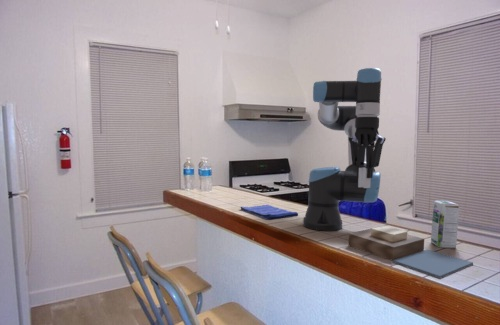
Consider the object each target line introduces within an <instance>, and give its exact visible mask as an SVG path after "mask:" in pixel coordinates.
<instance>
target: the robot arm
mask: <svg viewBox="0 0 500 325" xmlns="http://www.w3.org/2000/svg"><path fill="white" fill-rule="evenodd" d="M381 86H382V71H381V69H380V68H377V67H365V68H361V69H359V70H358V71H357V74H356V80H321V81H315V82H313V87H312V88H313V89H312V100H313V102H315V103H318V104H319V107H318V108H319V109H318V110H317V119H318V121H319V123H320V124H322V125H323V126H324V127H325V128H328V129H329V130H332V131H344V133H345V135H346V136H347V147H348V148H347V150H348V151H347V153H348V154H347V156H348V159H347V160H348V165H347V166H346V168H345V169H344V170H341V168H340V167H339V166H328V167H325V166H324V167H319V168H318V167H317V168H313V169H312V170H310V172H309V176H308V177H309V179H308V183H309V184H308V203H307V205H308V206H307V209H306V211H305V216H304V217H303V220H302V223H303V224H302V225H303V227H305V228H307V229H312V230H314V231H324V232H325V231H326V232H329V231H330V232H331V231H334V232H335V231H339V230H342V228H343V220H342V217H341V212H340V209H339V205H340V204H339V202H355V203H364V204H365V203H375V202H377V200H378V198H379V192H380V187H381V186H380V184H381V173H380V172H378V171H376V169H375V168H377V167H379V166H380V160H381V156H382V151H383V147H384V146H383V145H384V143H385V142H386V140H387V139H386V137H382V136H381V135H380V133H379V127H380V118H379V116H380V114H381V113H380V112H381ZM339 103H355V105H339Z"/></svg>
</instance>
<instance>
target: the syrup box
mask: <svg viewBox="0 0 500 325" xmlns="http://www.w3.org/2000/svg"><path fill="white" fill-rule="evenodd" d="M459 215H460V204H458V203H455V202H452V201H449V200H434V201H433V208H432V221H431V222H432V223H431V231H430V232H431V234H430V235H431V236H430V243H431V244H433V245H435V246H436V247H438V248H445V249H446V248H448V249H451V248H452V249H453V248H454V249H456V248H457V241H458V240H457V239H458V227H459V217H460V216H459Z"/></svg>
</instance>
